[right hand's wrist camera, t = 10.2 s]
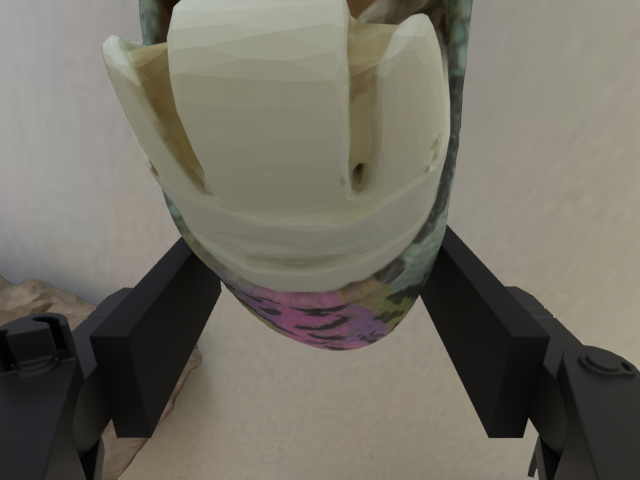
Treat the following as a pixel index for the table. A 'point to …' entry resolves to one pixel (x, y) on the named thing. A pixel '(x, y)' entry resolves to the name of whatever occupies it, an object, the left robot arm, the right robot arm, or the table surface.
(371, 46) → the ballet flat
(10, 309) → the stone
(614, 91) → the table surface
